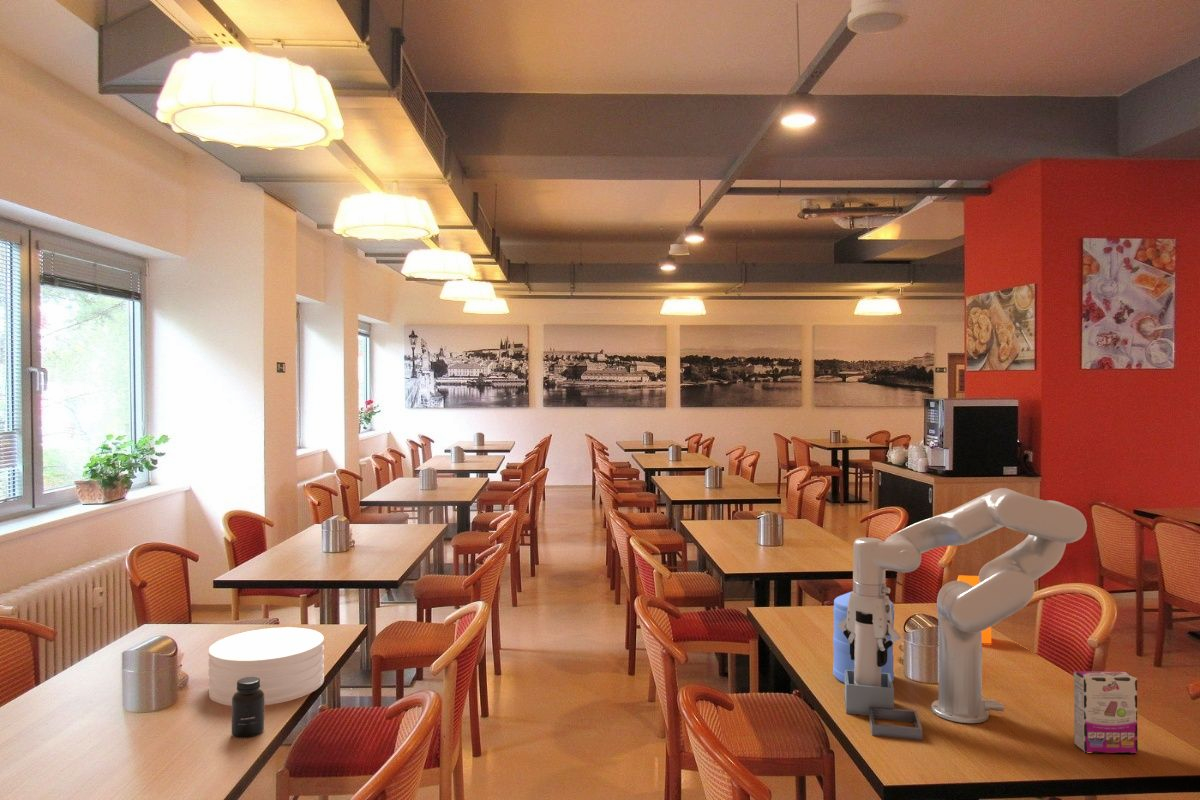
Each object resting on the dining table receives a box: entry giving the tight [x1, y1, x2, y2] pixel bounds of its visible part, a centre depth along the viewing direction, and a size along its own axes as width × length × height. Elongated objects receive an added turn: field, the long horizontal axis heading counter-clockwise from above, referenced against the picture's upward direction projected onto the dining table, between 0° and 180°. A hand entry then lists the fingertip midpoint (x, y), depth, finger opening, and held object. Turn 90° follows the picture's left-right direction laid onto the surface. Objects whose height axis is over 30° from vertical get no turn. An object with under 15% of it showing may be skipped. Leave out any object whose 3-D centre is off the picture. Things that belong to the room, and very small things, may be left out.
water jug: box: [832, 591, 895, 684], centre depth 219 cm, size 16×16×28 cm
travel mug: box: [854, 611, 881, 687], centre depth 199 cm, size 6×7×20 cm
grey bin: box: [844, 670, 895, 717], centre depth 199 cm, size 11×11×7 cm
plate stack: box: [208, 626, 325, 707], centre depth 214 cm, size 28×28×12 cm
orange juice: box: [956, 574, 992, 644], centre depth 253 cm, size 8×9×20 cm
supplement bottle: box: [231, 677, 265, 739], centre depth 184 cm, size 7×7×12 cm
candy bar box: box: [1073, 670, 1139, 753], centre depth 176 cm, size 11×5×16 cm, turn 87°
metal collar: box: [868, 707, 923, 741], centre depth 187 cm, size 11×11×2 cm
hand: (868, 661), depth 199 cm, fingers closed on travel mug, 6 cm apart
